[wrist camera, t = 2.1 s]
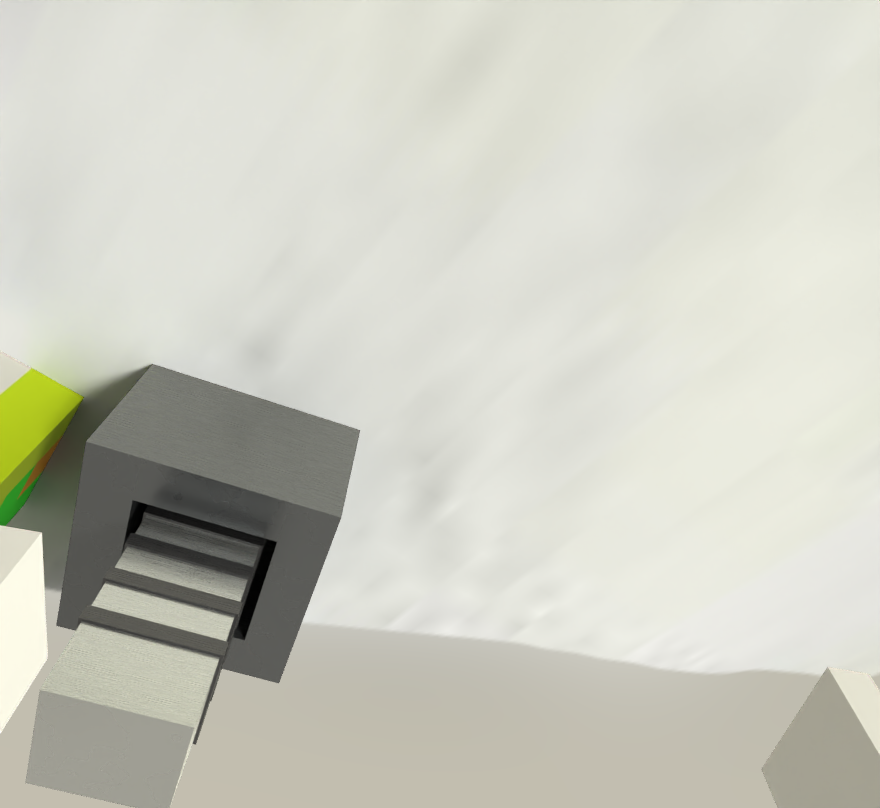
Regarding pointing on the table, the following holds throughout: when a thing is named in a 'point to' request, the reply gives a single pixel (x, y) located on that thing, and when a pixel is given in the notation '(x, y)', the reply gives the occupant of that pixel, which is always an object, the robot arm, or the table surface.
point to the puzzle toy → (28, 429)
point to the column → (144, 663)
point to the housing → (215, 497)
